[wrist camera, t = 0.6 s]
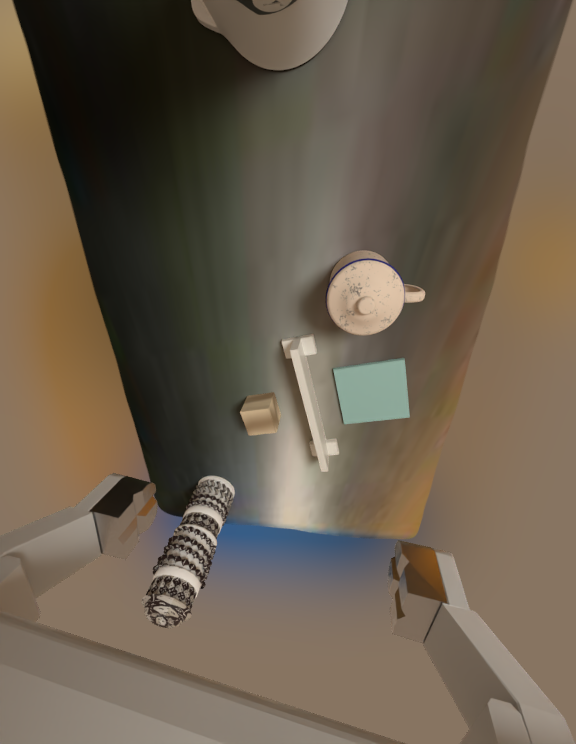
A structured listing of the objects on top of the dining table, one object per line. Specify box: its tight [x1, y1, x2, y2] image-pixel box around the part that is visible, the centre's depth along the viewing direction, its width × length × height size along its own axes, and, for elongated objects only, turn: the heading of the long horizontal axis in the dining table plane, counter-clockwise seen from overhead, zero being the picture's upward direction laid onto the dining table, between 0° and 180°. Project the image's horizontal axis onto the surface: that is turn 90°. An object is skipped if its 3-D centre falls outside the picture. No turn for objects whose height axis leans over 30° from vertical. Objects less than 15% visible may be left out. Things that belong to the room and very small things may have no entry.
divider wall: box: [282, 334, 339, 472], centre depth 53 cm, size 24×5×5 cm, turn 14°
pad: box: [333, 358, 410, 424], centre depth 53 cm, size 11×11×1 cm
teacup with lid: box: [326, 250, 425, 335], centre depth 39 cm, size 12×9×12 cm
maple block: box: [240, 392, 281, 435], centre depth 55 cm, size 5×5×5 cm
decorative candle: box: [142, 476, 235, 628], centre depth 59 cm, size 9×9×25 cm
